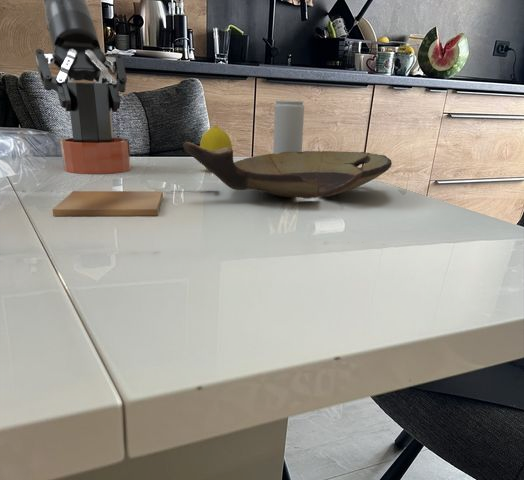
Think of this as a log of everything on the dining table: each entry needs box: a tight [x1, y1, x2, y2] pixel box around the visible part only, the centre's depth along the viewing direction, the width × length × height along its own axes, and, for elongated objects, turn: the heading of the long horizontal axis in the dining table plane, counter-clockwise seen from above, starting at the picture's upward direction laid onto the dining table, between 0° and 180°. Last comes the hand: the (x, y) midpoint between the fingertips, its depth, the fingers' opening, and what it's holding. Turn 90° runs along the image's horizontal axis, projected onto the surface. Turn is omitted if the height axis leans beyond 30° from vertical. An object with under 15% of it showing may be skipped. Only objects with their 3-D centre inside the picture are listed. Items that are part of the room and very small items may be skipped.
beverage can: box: [272, 100, 305, 154], centre depth 91 cm, size 5×5×12 cm
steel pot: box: [67, 81, 114, 143], centre depth 89 cm, size 6×6×10 cm
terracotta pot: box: [59, 137, 132, 175], centre depth 92 cm, size 11×11×6 cm
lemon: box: [199, 125, 233, 169], centre depth 93 cm, size 6×6×8 cm
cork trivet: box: [52, 190, 164, 217], centre depth 70 cm, size 12×12×1 cm
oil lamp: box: [182, 141, 393, 200], centre depth 78 cm, size 22×30×8 cm
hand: (92, 107), depth 87 cm, fingers closed on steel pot, 6 cm apart
